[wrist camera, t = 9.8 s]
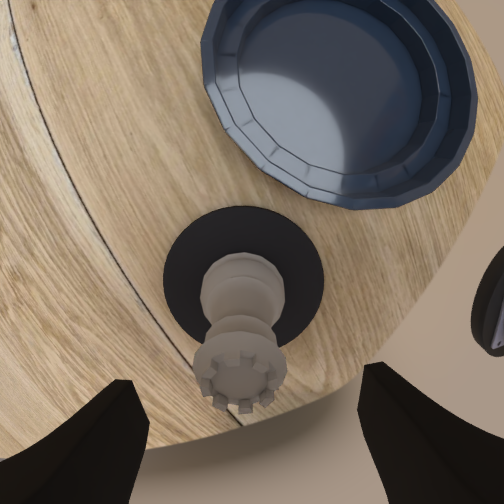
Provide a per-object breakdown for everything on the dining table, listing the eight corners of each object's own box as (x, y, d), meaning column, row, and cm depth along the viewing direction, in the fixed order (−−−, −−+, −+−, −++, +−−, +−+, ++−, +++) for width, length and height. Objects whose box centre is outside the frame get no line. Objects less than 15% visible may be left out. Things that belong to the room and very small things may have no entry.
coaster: (320, 198, 16) (321, 199, 15) (322, 343, 18) (323, 347, 18) (152, 215, 16) (150, 216, 15) (180, 354, 18) (179, 358, 18)
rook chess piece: (241, 337, 18) (237, 444, 10) (185, 286, 17) (143, 380, 9) (300, 290, 17) (335, 387, 9) (245, 232, 16) (241, 301, 8)
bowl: (415, 1, 12) (445, -23, 8) (442, 193, 15) (483, 204, 12) (205, -10, 12) (195, -48, 8) (224, 206, 16) (217, 222, 12)
